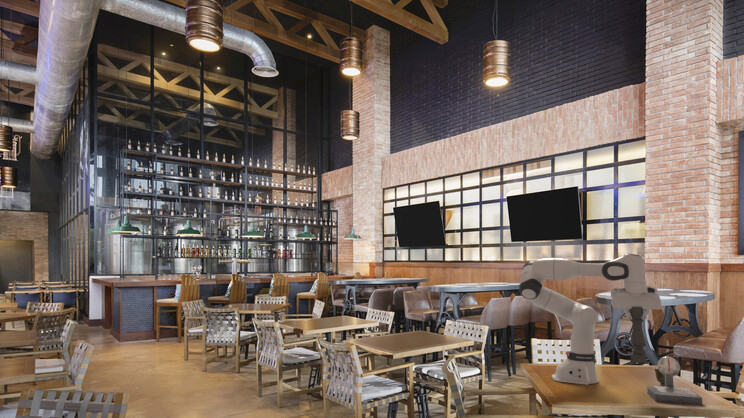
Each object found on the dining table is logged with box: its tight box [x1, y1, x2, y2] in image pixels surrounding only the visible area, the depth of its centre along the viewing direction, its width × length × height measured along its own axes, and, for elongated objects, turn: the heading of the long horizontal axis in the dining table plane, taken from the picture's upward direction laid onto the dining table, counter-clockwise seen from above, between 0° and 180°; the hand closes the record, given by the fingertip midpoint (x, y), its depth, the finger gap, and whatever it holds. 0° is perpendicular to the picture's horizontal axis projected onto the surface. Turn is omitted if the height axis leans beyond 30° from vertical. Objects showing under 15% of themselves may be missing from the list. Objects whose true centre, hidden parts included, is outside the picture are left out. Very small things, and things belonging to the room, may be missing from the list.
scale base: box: [646, 356, 703, 406], centre depth 219 cm, size 18×14×18 cm
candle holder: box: [628, 307, 648, 364], centre depth 222 cm, size 6×6×25 cm
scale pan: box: [653, 385, 697, 397], centre depth 217 cm, size 14×11×1 cm
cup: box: [654, 367, 665, 386], centre depth 239 cm, size 8×7×8 cm
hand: (636, 318), depth 223 cm, fingers closed on candle holder, 5 cm apart
